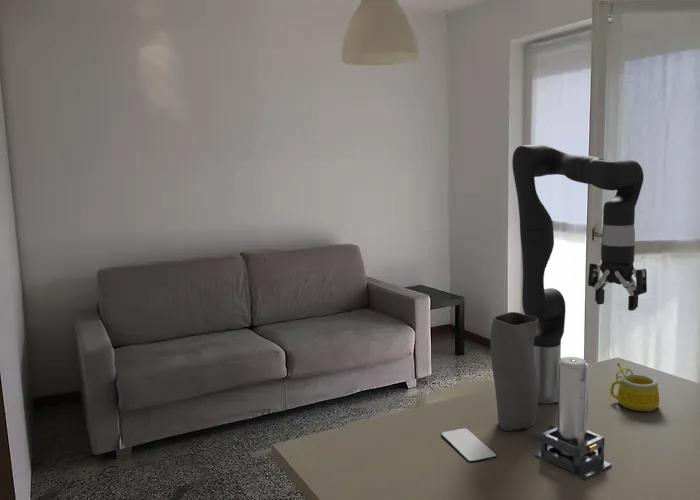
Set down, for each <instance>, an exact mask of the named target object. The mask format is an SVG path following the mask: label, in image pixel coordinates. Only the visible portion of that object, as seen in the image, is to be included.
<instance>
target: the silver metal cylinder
mask: <svg viewBox="0 0 700 500" xmlns="http://www.w3.org/2000/svg"><path fill="white" fill-rule="evenodd" d="M589 367H590V366H589V364H588V363H587V361H586V360H585V359H584V358H581V357H578V356H564V357H561V359H560V362H559V390H558V402H557V403H558V405H557V427H558V439H560V440H562V441H565V442H567V443H569V444H572V445H574V446H576V447H578V446H580V445H582V444H584V443H586V442H588V440H587V430H588V406H589V405H588V404H589V401H588V400H589V374H590V373H589V371H590V370H589ZM556 454H558V455H560V456H562V457H564V458H566V459H568V460H571V461H573V462H574V456H572V455H570V454H568V453H565V452H563V451H561V450H559V449H557V453H556ZM586 458H587V456H586V454H585V455H583V456H581V460H580V461H582V460H584V459H586Z"/></svg>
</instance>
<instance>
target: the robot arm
mask: <svg viewBox="0 0 700 500" xmlns="http://www.w3.org/2000/svg"><path fill="white" fill-rule="evenodd" d="M511 161H512V162H511V163H512V164H511V165H512V172H513V178H514V184H515V190H516V195H517V205H518V215H519V216H518V217H519V235H520V244H521V245H520V246H521V255H522V256H521V259H522V260H521V261H522V262H521V263H522V298H521V299H522V303H521V304H522V309H523V311H522V312H523V314H524V315H529V316H534V317H537V318H538V319H539V322H538V325H537V329H536V333H535V338H534V360H535V368H536V376H537V391H538V401H537V404H544V405H546V404H547V405H551V404H556V403H558V390H559V362H560V359H561V358H562V357H561V355H562V354H561V352H562V351H561V350H562V348H561V347H562V338H563V336H564V333H565V322H566V301H565V298H564V295H563V294H562V293H561V291H560V290H558V289H557V288H553V287H550V288H545V284H544V283H545V282H544V281H545V280H544V279H545V271H546V268H547V266H548V262H549V261H550V258H551V256H552V253H553V251H554V246H555V235H554V223H553V220H552V217H551V215H550V213H549V212H548V210H547V208H546V207H545V205H544V204H543V202H542V201H541V199H540V197H539V196H538V193H537V188H536V182H535V181H536V179H535V178H537V177H538V178H539V177H545V176H553V175H559V176H560V175H561V176H565V177H566V178H567V179H569V180H571V181H573V182H577V183H582V184H586V185H592V186H593V187H595V188H598V189H601V190H605V191H616V192H615V196H614V197H613V198H612V199H610V200H607V201H606V202H605V203H604V205H603V213H602V214H603V216H602V217H603V218H602V220H603V221H602V229H601V236H600V237H601V239H600V242H601V243H600V260H601V263H600V262H596V261H595V262H592V263H590V264H589V266H588V270H589V271H588V279H587V285H588V286H589V287H592V288H594V290H595V294H594V295H595V296H594V300H595V302H596V304H597V305H603V304H604V303H605V289H604V288H605V287H606V285H607V284H609V283H610V284H617V285H622V287H623V288H624V289H625V290H626V291H627V293H628V294H629V295H628V305H627V306H628V307H627V309H628V311H631V312H633V311H635V310H636V309H637V308H638V306H639V296H640V295H644V294H646V293H647V292H648V287H647V286H648V285H647V284H648V282H647V280H648V279H647V277H648V276H647V275H648V274H647V269H646V268H641V269H639V268H634V262H635V248H636V247H635V245H636V243H635V242H636V229H635V221H636V220H635V219H636V216H635V214H636V213H635V212H636V210H635V209H636V206H637V202H638V199H639V196H640V194H641V191H642V188H643V187H642V186H643V183H644V171H643V168H642V166H641V164H640V163H639V162H637V161H636V160H632V159H630V160H629V159H628V160H626V159H625V160H605V159H604V158H602V157H597V156H592V155H584V154H577V153H575V154H574V153H568V152H565V151H563V150H562V151H561V150H559V149H556V148H555V147H551V146H548V145H546V144H526V145H525V144H523V145H519V146H517V147H516V148H515V150H514V151H513V154H512V160H511ZM600 272H601V274H602V275H601V276H600V277H599V273H600ZM633 275H634V278H635V280H634V278H633Z"/></svg>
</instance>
